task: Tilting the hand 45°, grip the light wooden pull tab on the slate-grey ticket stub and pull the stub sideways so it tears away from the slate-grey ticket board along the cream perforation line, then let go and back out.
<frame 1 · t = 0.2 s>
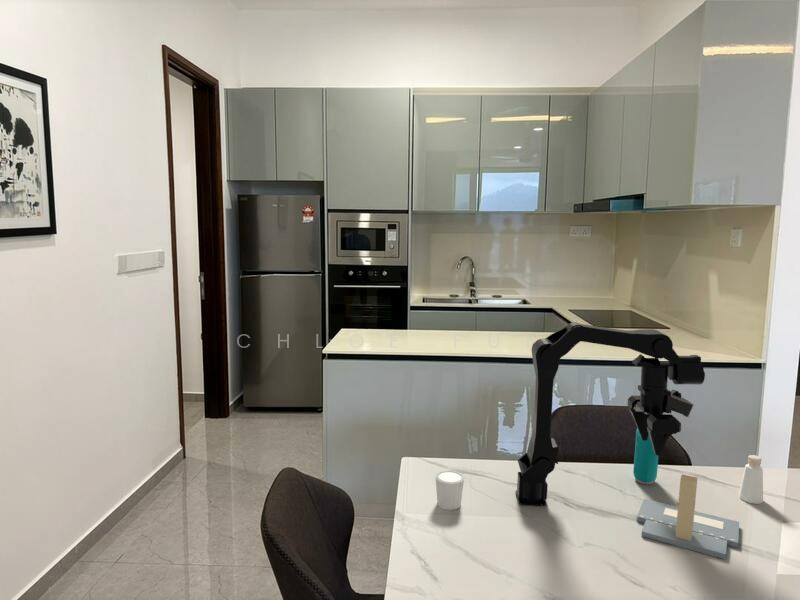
hand: (651, 447, 137), 15 cm above the table, tool pointing down, fingers open, 9 cm apart
shot glass: (449, 504, 138), on the table
ticket stub: (686, 509, 123), point 7 cm above the table, slide at 0.0 cm
ticket board: (687, 524, 131), on the table
pepper shaker: (750, 499, 143), on the table
beverage can: (644, 481, 152), on the table
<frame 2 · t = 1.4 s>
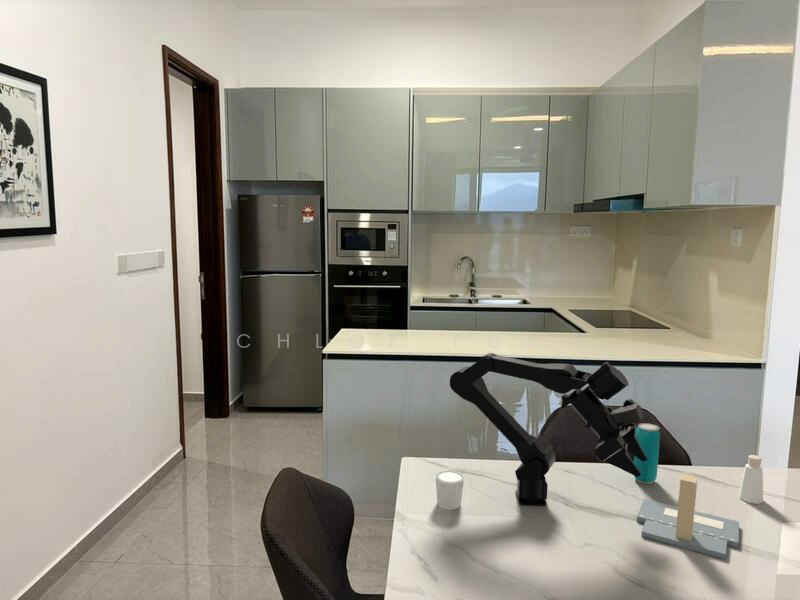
hand: (642, 467, 127), 14 cm above the table, tool tilted 45°, fingers open, 9 cm apart
nothing on the table moved.
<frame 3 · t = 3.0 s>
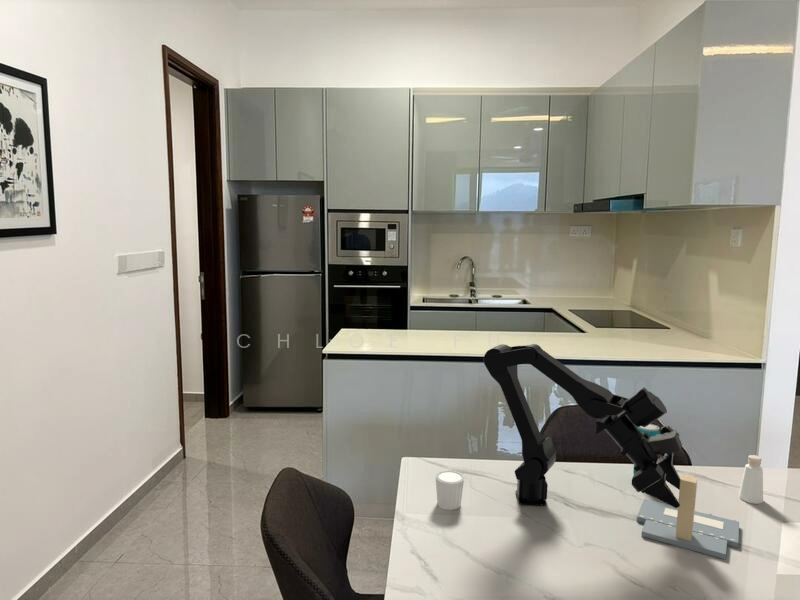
hand: (680, 497, 123), 10 cm above the table, tool tilted 45°, fingers open, 9 cm apart
nothing on the table moved.
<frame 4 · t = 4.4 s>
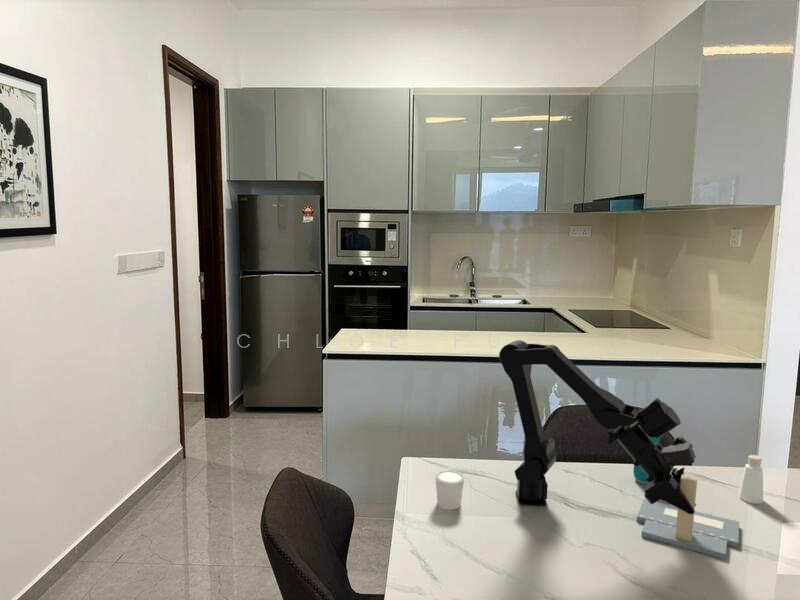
hand: (693, 509, 122), 8 cm above the table, tool tilted 45°, fingers closed on ticket stub, 3 cm apart
ticket stub: (686, 509, 123), point 7 cm above the table, slide at 0.0 cm, touching gripper
everything else where it was.
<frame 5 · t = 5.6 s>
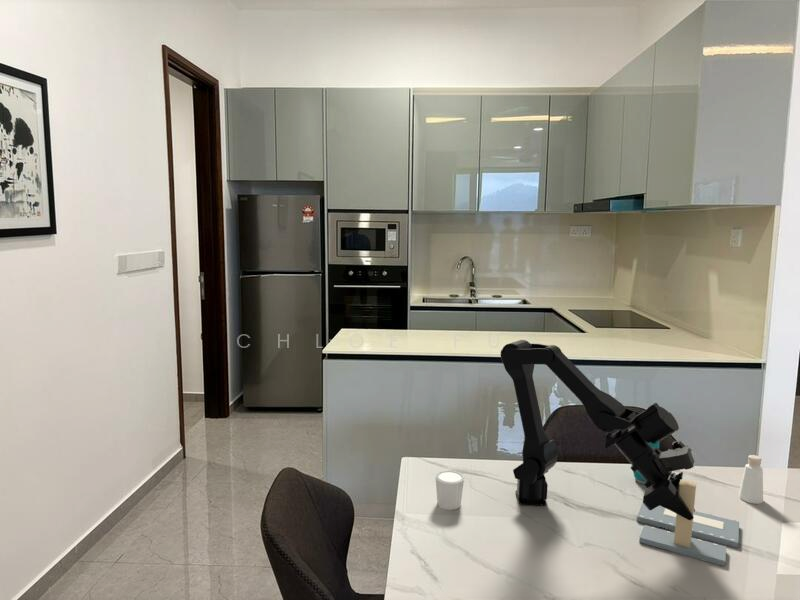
hand: (692, 515, 119), 8 cm above the table, tool tilted 45°, fingers closed on ticket stub, 3 cm apart
ticket stub: (684, 515, 120), point 7 cm above the table, slide at 2.8 cm, touching gripper
everything else where it was.
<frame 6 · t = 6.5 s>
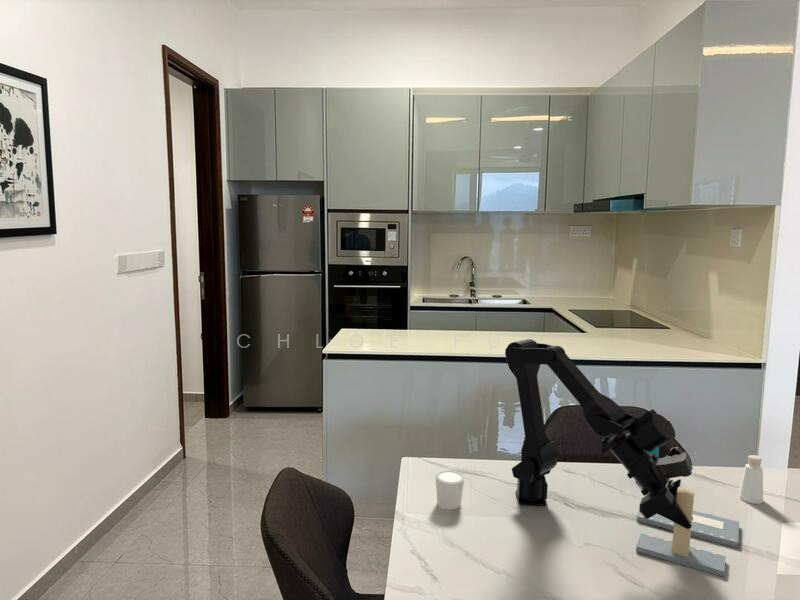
hand: (690, 524, 116), 8 cm above the table, tool tilted 45°, fingers closed on ticket stub, 3 cm apart
ticket stub: (682, 524, 117), point 7 cm above the table, slide at 6.8 cm, touching gripper
everything else where it was.
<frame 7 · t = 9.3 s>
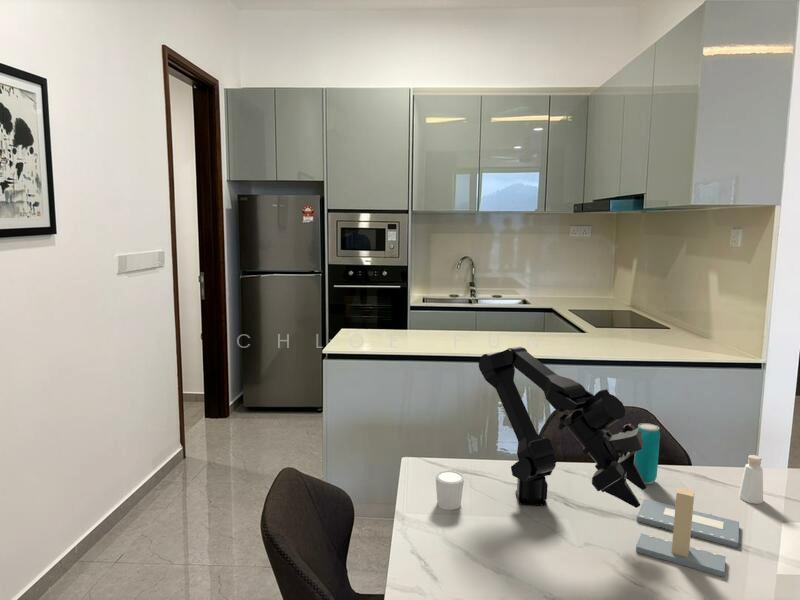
hand: (641, 497, 121), 11 cm above the table, tool tilted 45°, fingers open, 9 cm apart
ticket stub: (682, 524, 117), point 7 cm above the table, slide at 6.9 cm
everything else where it was.
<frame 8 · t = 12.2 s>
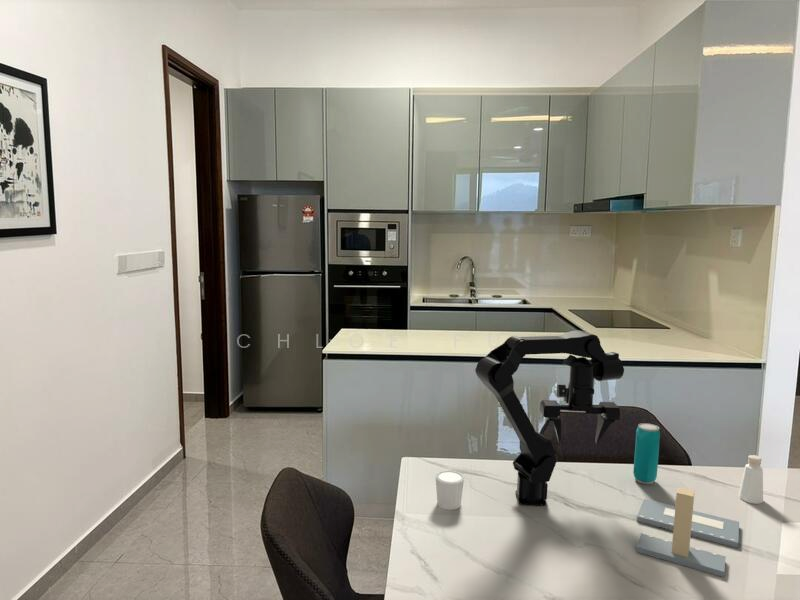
hand: (578, 442, 144), 13 cm above the table, tool pointing down, fingers open, 9 cm apart
nothing on the table moved.
at the end: ticket stub slide at 6.9 cm; the gripper is holding nothing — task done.
